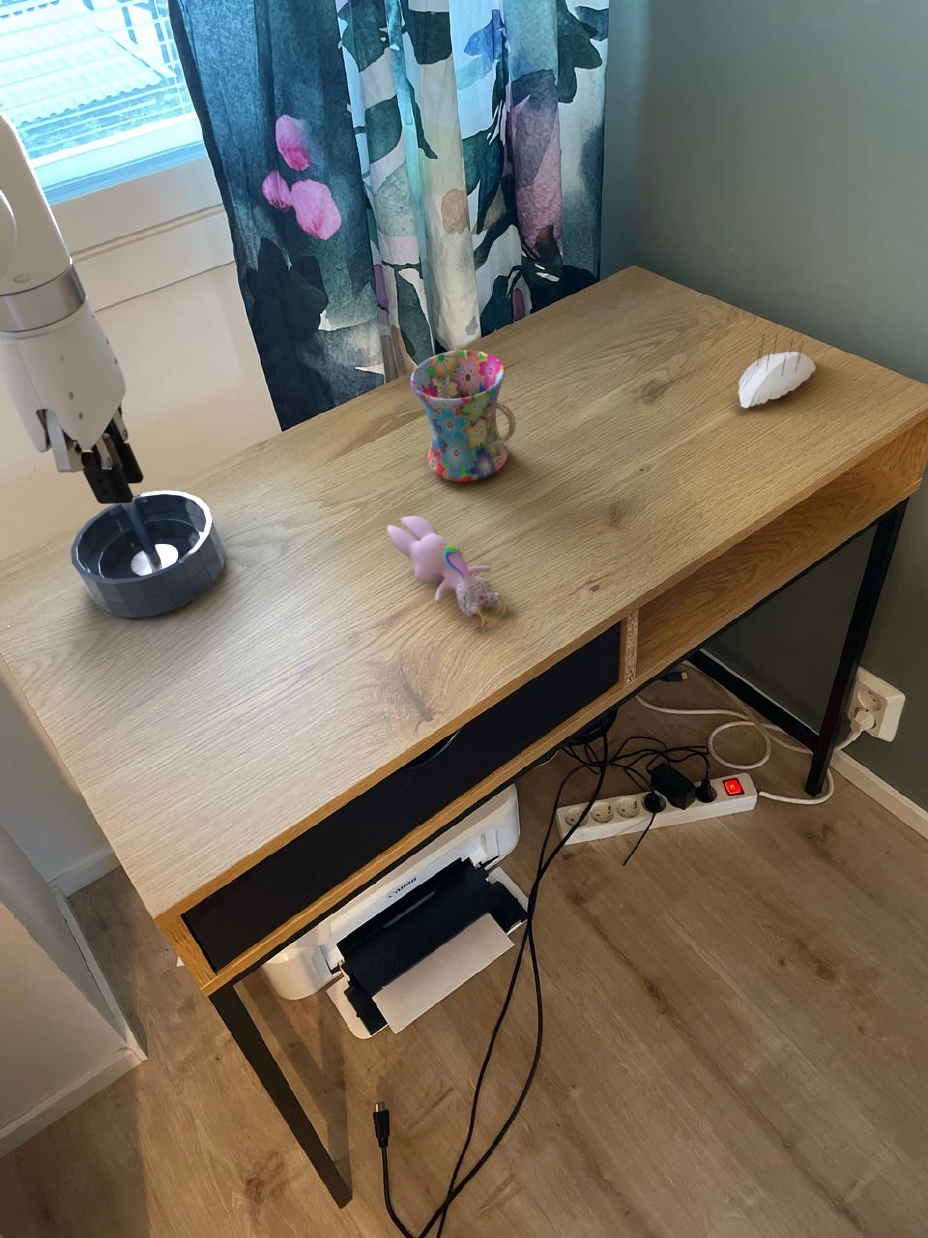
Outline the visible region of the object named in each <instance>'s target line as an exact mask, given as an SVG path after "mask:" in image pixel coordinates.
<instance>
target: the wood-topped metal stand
mask: <svg viewBox="0 0 928 1238" xmlns="http://www.w3.org/2000/svg"><path fill="white" fill-rule="evenodd" d="M101 437H102V439H103V441H104V443H105V445H106V448H107V450H108V452H109V454H110V457H111V459H112V462H118V463H119V465H120V468H122V467H123V463H122V461H121V458H120V456H119V454H118V452H117V450H116V447H115V445H114V443H113V441H112V438H111V436H110V435H109V434H107V433H103V434H102V435H101ZM89 452H92V453H94V451H93V449H92V447H91V448H90V449H89ZM121 505H122V507H123V509H124V511H125V513H126V515H127V518H128V520H129V522H130V524H131V526H132V528H133V530H134V532H135V534H136V537H137V539H138V541H139V543H140V545H141V547H142V549H143V550H142V551H140V552H139V553H138V554H137V555H136V556H135V557H134V558H133V560H132V562H131V569H132V571H133V573H134V575H135V577H140V576H143V575H147V574H150V573H153V572H156V571H159V570H161V569H163V568H165V567H167V566H169V565H171V564H173V563H175V562H176V561H178V560H180V559H181V557H180V555H179V553H178V551H177V549H176V548H175V547H173V546H171V545H167V544H158V545H155V544H154V542H153V540H152V537H151V535H150V533H149V531H148V529H147V527H146V524H145V522H144V520H143V518H142V516H141V513H140V511H139V509H138V507H137V505H136V502H135V500H134V498H133V500H132V502H130V503H121Z"/></svg>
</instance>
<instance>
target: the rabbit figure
mask: <svg viewBox="0 0 928 1238" xmlns="http://www.w3.org/2000/svg"><path fill="white" fill-rule="evenodd" d="M399 520H400V522H401V523H402V524H403V525H404V527H405V528H406V529H407V530H408V531H409V532H410V533H411V534H410V533H409V532H407V531H406V530H405V529H403V528H402V527H398V526H395V525H393V524H389V525H387V527H386V528H387V530H386V531H387V534H388V537H389V538H390V540H391V541H392V543H393V544H394V546H395V547H396V549H397V550H398V551H399V552H400V553H402V554H403V555H405V556H406V557H408V558H409V559H410V561H411V563H412V567H413V572H414V576H415V579H416V580H417V581H418V582H420V583H423V584H426V585H431V584H434V583H440V584H439V586H438V588H437V589H436V592H435V597H434V602H435V603H436V604H440V603H441V602H442V598H443V597H442V595H443V594H444V593H445V592H446V591H448V590H449V591H451V592H453V593H454V594H456V597H457V601H458V606H459V608H460V610H461V612H462V613H463V614H464V616H466V617H467V618H469V619H475V618H478V617H480V618H481V624H480V625H481V626H480V629H481V630H484V631H486V626H487V625H488V624H489V625H491V623H490V622H489V621H488V620H487V616H486V615H483V613H482V612H483V608H487V609H489V608H493V607H495V606H496V604H497V603H498V601H500V603H502V605H503V610H502V612H501V616H504V614H505V615H506V616H508V611H509V612H511V611H512V610H511V608H510V607H509V603H508V601H505V600H504V598H503V597H502V596H503V595H502V594H501V593H499V592H498V591H497V590H496V589H495V588H494V586H493V585H492V584H491V582H489V580H487V579H486V578H484V577H481V576H478V575H477V576H476V575H473V574H475V573H478V572H479V573H480V572H484V573H489V572H491V570H492V567H491V566H490V565H473V566H469V567H467V564H466V562H465V559H463V551H462V549H460V548H459V547H458V546H455V545H454V544H452V543H451V542H450V541H448V540H447V539H446V538H445V537H443V536H441V535H439V534H438V530H437V528H436V527H435V526H434V525H433V524H432V523H431V522H430V521H428V520H427V519H426V518H423V517H421V516H416V515H411V516H404V517H403V516H402V517H401V518H400V519H399Z"/></svg>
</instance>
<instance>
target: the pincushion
mask: <svg viewBox="0 0 928 1238" xmlns="http://www.w3.org/2000/svg"><path fill="white" fill-rule="evenodd" d="M793 338H794V337H792V338H791V341H790V349H789V351H786V352H776V347H773V348H774V349H773V353H768V354H767V355H763V356H760V355H762V353H763V349H761V348H764V342H761V343H762V345H761V344H760V345H759V349H758V350H759V351H758V357H757V360H755V361H754V362H753V363H751V365H749V366H748V367H747V368H746V369H745V371H744V372H743V374H742V375H741V377H740V379H739V381H738V384H737V385H738V388H739V389H738V392H737V394H738V397H739V402H740V407H741V408H743V409H748V408H749V407H751V408H753V407H754V406H755V405H758V406H759V405H760V404H762V405H764V404H766V402H768V400H773V401H774V400H779V399H780V398H781V397H782V396H785V395H787V394H788V393H789V392H792V391H794V390H796V389H797V388H798V387H799V386H801V384H802V383H803V382H805V381H807V380H808V379H809V378H810V377H811V375H812V374H813V373H814V372H815V371H816V367H817V366H816V364H815V363H814V361H813V360H812V359H811V358H810V357H809V356H807V355H806V354H804V353H802V348H803V345H800V347H798V348H799V349H798V352H797V351H792V346H793V345H792V344H793ZM777 339H778V334H776V335H775V340H777ZM764 340H765V335H763V337H762V341H764ZM803 343H804V342H803V340H802V341H801V344H803ZM776 345H777V341H775V342H774V346H776ZM775 352H776V353H775Z"/></svg>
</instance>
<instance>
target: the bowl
mask: <svg viewBox="0 0 928 1238" xmlns="http://www.w3.org/2000/svg"><path fill="white" fill-rule="evenodd" d="M133 496H134V497H133V498H134V500H135V502H136V505H137V507H138V509H139V511H140V513H141V516H142V518H143V520H144V522H145V524H146V527H147V529H148V531H149V533H150V535H151V537H152V540H153V542H154V544H155V545H158V544H167V545H171V546H173V547H175V548H176V549H177V551H178V553H179V555H180V557H181V559H180V560H178V561H176V562H175V563H173V564H171V565H169V566H167V567H165V568H163V569H161V570H159V571H156V572H153V573H150V574H147V575H143V576H140V577H135V575H134V573H133V571H132V569H131V562H132V560H133V558H134V557H135V556H136V555H137V554H138V553H139V552H140V551H142V550H143V549H142V547H141V545H140V543H139V541H138V539H137V537H136V534H135V532H134V530H133V528H132V526H131V524H130V522H129V520H128V518H127V515H126V513H125V511H124V509H123V507H122V505H121V503H115V504H111V505H109V506H107V507H105V508H103V509H102V510H101V511H99V512H98V513H97V514H96V515H94V516H93V517H92V518H90V519H89V520H87V522H86V523H85V524H84V525H83V526H82V528H81V529H80V530H79V531H78V533H77V534H76V535H75V538H74V540H73V543H72V546H71V547H70V557H71V558H70V559H71V564H72V566H73V568H74V569H75V571H76V574H77V575H78V577H79V579H80V580H81V582H82V584H83V586H84V588H85V589H86V592H87V593H88V595H89V596H90V597H91V599H92V600H93V602H94V603H95V604H96V606H97V607H98V608H99V609H101V610H103V611H105V612H107V613H109V614H110V615H112V616H119V617H125V618H133V619H135V618H136V619H137V618H145V617H155V616H157V615H161V614H163V613H164V614H165V613H166V612H170V611H173V610H176V609H179V608H181V607H182V606H184V605H186V604H188V603H190V602H191V601H193V600H195V599H197V598H199V596H200V595H202V594H203V593H204V592H205V591H206V590H208V589H209V588H210V587H211V586H212V585H213V584H215V581H216V580H217V579H218V577H219V575H220V574H221V572H222V571H223V569H224V565H225V560H226V556H227V555H226V554H227V553H226V549H225V546H224V543H223V538H222V537H221V534H220V532H219V529H218V527H217V523H216V521H215V518H214V516H213V514H212V511H211V509H210V507H209V506H208V505H207V504H206V503H205V502H204V501H203V500H202V499H201V498H200V497H197V496H195V495H192V494H190V493H188V492H184V491H175V490H159V491H158V490H157V491H149V492H143V493H140V494H137V495H136V494H135V495H133Z"/></svg>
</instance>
